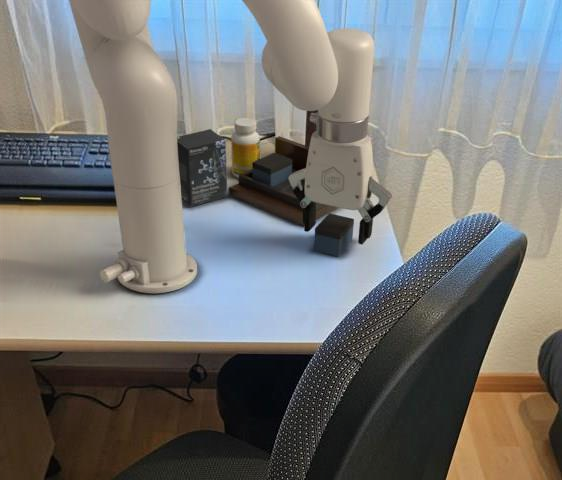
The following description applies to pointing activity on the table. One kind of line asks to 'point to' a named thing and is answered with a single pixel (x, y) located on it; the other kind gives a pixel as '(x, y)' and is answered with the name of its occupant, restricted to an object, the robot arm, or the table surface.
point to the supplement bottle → (244, 146)
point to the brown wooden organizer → (278, 187)
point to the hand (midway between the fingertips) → (336, 234)
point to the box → (202, 167)
